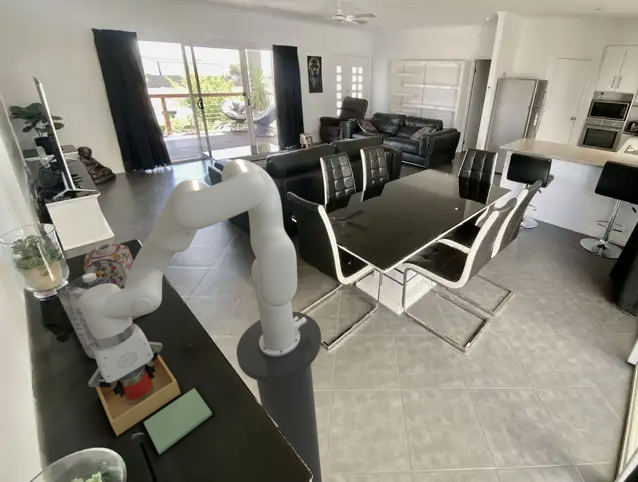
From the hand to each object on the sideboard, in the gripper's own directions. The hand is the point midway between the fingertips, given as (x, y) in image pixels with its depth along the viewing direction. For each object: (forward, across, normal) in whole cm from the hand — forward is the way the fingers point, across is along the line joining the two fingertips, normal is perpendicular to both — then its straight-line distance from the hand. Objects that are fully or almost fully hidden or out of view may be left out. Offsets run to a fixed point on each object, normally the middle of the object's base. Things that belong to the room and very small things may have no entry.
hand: (136, 383), depth 84 cm
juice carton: (+5, -1, +23) cm, 24 cm away
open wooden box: (+5, 0, 0) cm, 5 cm away
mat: (+5, +4, -14) cm, 15 cm away
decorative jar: (+5, +9, +59) cm, 60 cm away
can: (+4, 0, 0) cm, 4 cm away
